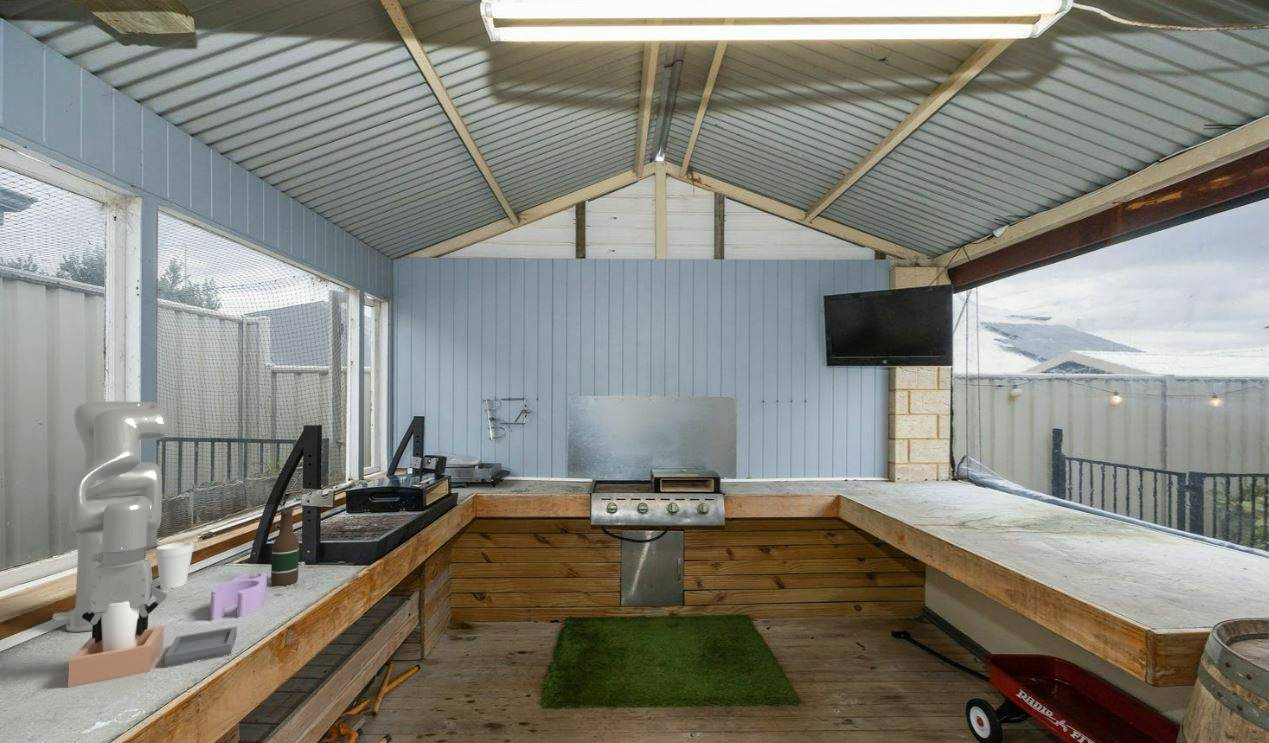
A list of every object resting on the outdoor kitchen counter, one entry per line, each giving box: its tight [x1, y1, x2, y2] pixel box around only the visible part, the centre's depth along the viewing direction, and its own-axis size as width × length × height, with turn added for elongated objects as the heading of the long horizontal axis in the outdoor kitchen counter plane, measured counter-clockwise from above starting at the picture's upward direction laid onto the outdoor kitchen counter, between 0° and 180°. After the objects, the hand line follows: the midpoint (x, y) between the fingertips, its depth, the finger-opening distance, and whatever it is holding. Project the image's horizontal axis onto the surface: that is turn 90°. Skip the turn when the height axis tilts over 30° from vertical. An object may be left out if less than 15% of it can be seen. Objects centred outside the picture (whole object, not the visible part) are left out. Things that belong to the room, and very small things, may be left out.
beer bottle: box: [270, 508, 300, 587], centre depth 181 cm, size 8×8×24 cm
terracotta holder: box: [67, 625, 165, 688], centre depth 123 cm, size 13×13×6 cm
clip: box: [209, 571, 268, 621], centre depth 160 cm, size 20×12×7 cm, turn 17°
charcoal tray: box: [164, 626, 238, 668], centre depth 131 cm, size 12×12×2 cm
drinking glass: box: [101, 602, 140, 652], centre depth 124 cm, size 7×7×15 cm
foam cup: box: [155, 541, 195, 590], centre depth 178 cm, size 10×9×13 cm
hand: (120, 636), depth 124 cm, fingers closed on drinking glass, 6 cm apart
